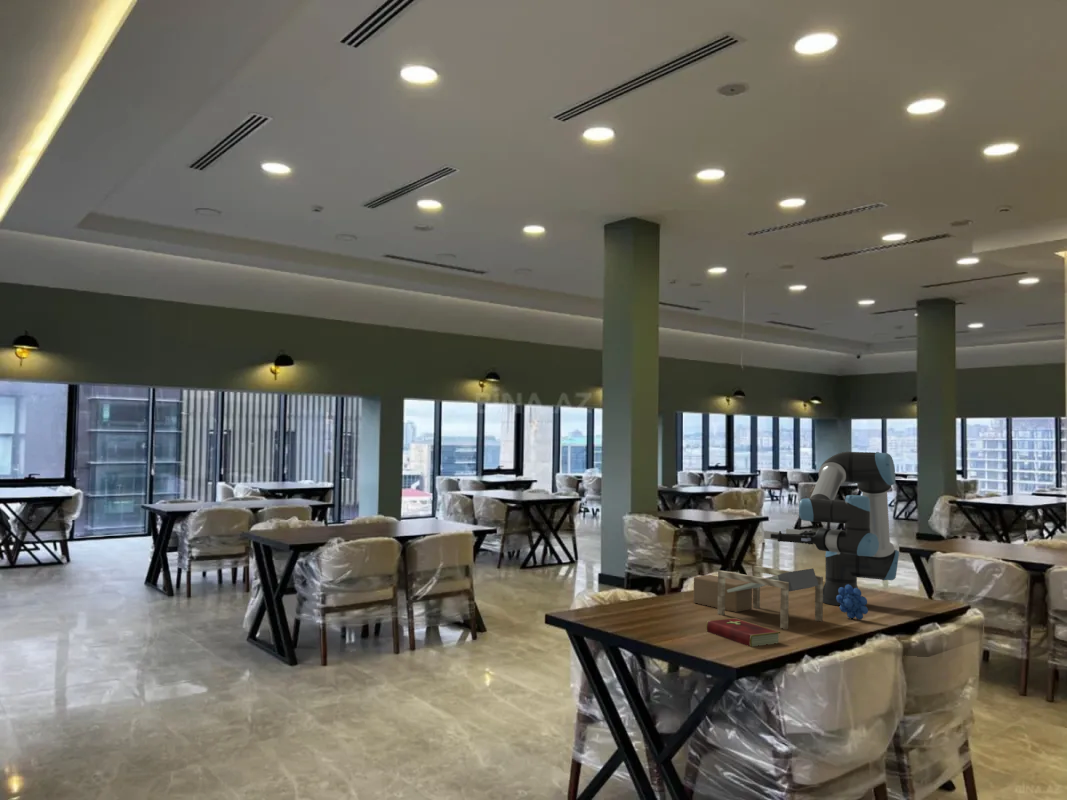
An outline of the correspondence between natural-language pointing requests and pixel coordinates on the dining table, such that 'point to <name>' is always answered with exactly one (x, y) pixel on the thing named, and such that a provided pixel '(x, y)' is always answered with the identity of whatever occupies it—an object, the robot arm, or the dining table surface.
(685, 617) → the dining table surface
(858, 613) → the grapes
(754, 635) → the hardcover book
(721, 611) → the hinged flap stand
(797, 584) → the trapdoor
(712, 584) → the wooden block
